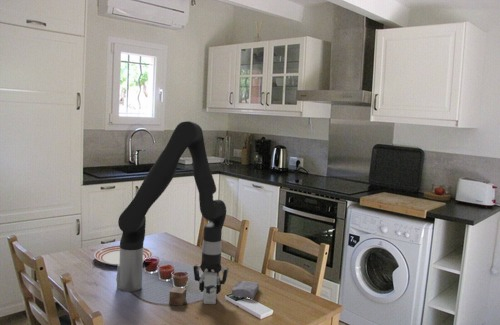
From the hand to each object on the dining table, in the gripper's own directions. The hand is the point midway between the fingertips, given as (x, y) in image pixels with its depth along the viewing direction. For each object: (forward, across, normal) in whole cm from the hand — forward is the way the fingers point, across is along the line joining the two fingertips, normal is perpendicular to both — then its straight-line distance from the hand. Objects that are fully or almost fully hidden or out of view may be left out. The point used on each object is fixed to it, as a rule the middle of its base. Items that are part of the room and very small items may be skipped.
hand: (209, 292), depth 175 cm
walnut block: (+3, +11, +6) cm, 13 cm away
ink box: (+3, 0, 0) cm, 3 cm away
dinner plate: (+4, +52, -31) cm, 61 cm away
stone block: (+4, -12, -11) cm, 17 cm away
